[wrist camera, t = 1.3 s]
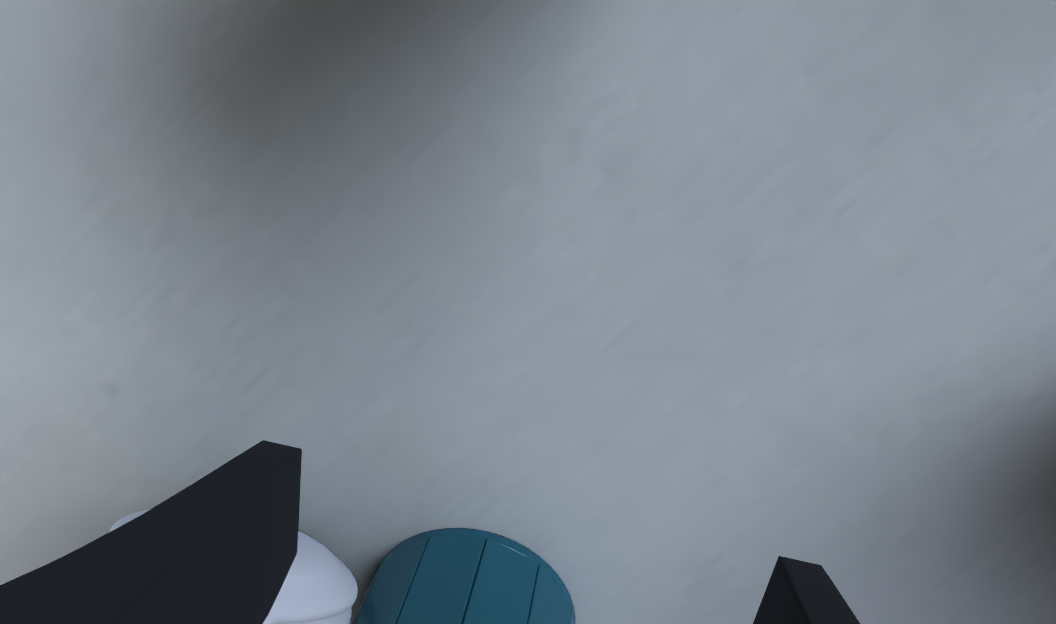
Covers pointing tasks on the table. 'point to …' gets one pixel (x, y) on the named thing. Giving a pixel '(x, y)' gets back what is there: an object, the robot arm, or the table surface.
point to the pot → (464, 583)
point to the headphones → (307, 585)
